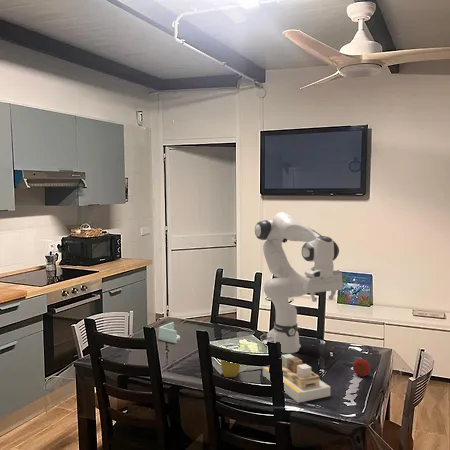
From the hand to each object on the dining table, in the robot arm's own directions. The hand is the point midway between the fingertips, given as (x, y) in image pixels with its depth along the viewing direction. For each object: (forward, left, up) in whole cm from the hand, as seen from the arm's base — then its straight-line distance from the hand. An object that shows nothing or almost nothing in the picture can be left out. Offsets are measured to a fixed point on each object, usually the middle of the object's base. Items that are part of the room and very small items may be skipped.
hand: (322, 300), depth 231 cm
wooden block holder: (+9, -20, -30) cm, 37 cm away
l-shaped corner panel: (-71, -49, -35) cm, 93 cm away
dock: (+9, -20, -34) cm, 40 cm away
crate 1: (+3, -20, -27) cm, 34 cm away
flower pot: (-12, -42, -34) cm, 56 cm away
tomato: (+12, +14, -34) cm, 39 cm away
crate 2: (+16, -20, -27) cm, 37 cm away
